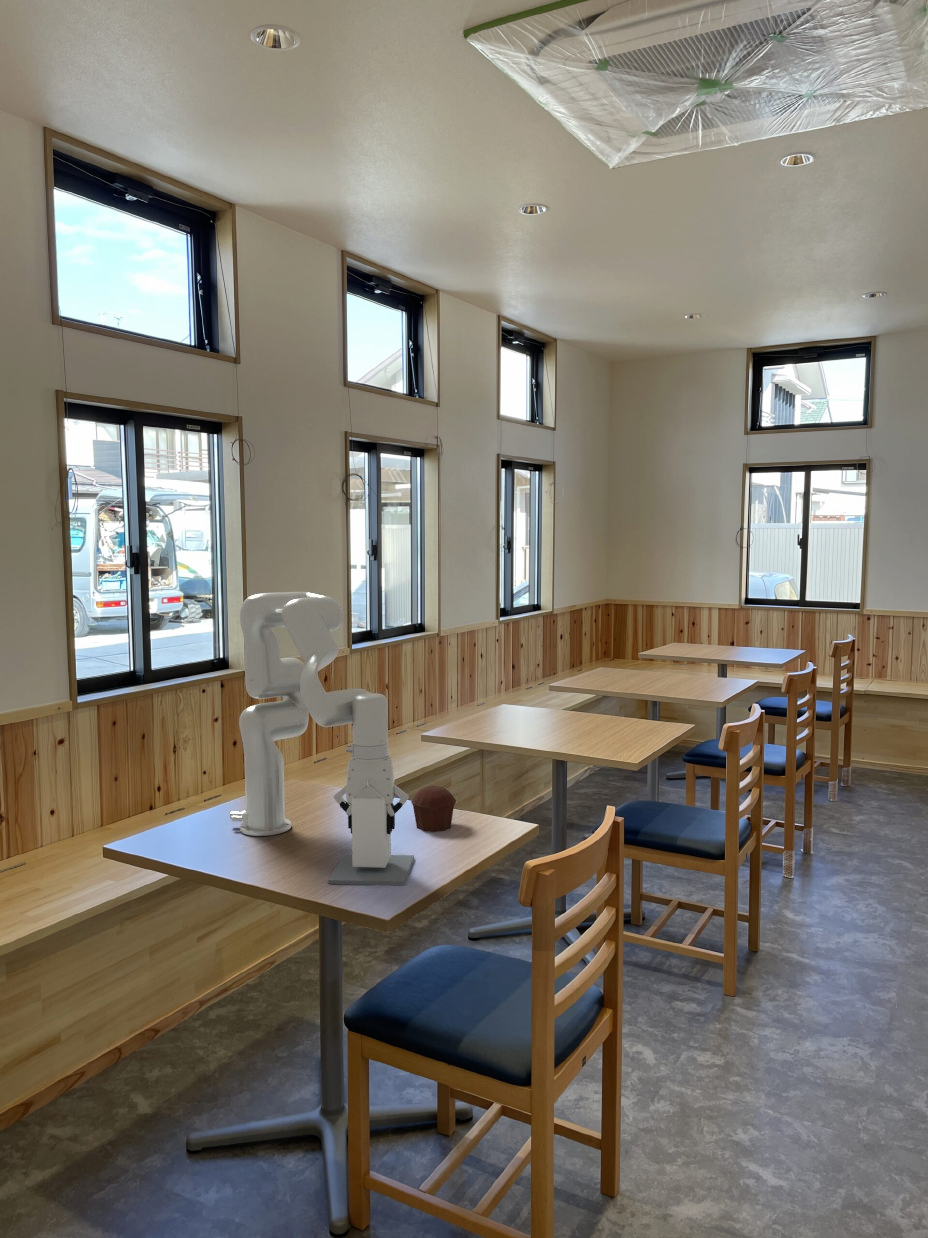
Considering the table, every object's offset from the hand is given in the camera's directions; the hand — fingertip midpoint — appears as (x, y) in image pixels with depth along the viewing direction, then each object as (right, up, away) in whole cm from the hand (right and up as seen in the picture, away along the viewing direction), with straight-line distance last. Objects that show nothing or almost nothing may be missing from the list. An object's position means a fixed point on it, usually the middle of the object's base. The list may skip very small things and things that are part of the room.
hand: (371, 831), depth 192 cm
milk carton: (0, -7, 0) cm, 7 cm away
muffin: (+12, -7, +32) cm, 35 cm away
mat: (0, -9, +1) cm, 9 cm away
